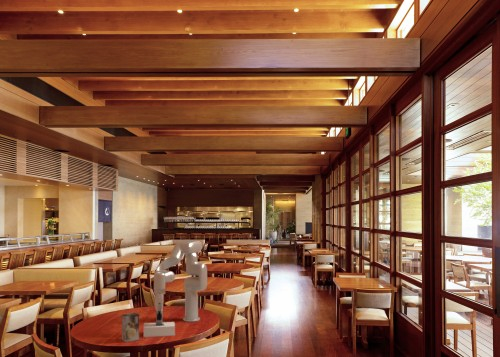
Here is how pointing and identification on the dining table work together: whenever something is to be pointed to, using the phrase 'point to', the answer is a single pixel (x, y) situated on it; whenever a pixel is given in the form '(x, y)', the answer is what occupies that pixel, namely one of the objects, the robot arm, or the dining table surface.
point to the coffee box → (130, 327)
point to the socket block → (159, 329)
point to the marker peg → (158, 322)
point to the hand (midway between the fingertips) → (159, 318)
